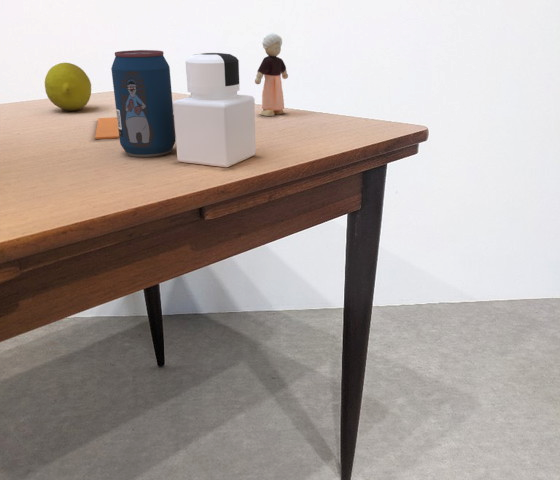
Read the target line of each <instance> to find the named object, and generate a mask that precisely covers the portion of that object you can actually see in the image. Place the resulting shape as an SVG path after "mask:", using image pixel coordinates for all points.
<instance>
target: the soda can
mask: <svg viewBox="0 0 560 480" xmlns="http://www.w3.org/2000/svg"><path fill="white" fill-rule="evenodd" d="M110 70H111V77H112V87H113V94H114V105H115V111H116V117H117V121H118V130H119V138H118V139H119V144H120V146H121V148H122V149H123V151H125V153H126V155H128V156H130V157H137V158H153V157H154V158H155V157H160V156H161V157H162V156H165V155H169V154H170V153H171V152H172V150H173V148H174V146H175V145H176V136H175V127H174V112H173V92H172V80H171V68H170V65H169V62H168V61H167V59H166V58H165V56H164V51H163V50H158V49H157V50H156V49H155V50H153V49H135V50H134V49H133V50H120V51H115V52H114V59H113V61H112V64H111V68H110Z"/></svg>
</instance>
